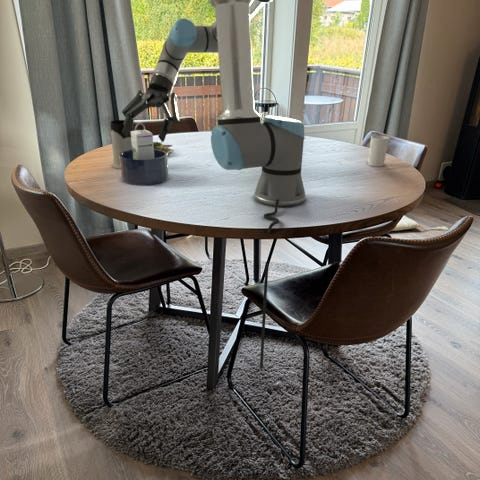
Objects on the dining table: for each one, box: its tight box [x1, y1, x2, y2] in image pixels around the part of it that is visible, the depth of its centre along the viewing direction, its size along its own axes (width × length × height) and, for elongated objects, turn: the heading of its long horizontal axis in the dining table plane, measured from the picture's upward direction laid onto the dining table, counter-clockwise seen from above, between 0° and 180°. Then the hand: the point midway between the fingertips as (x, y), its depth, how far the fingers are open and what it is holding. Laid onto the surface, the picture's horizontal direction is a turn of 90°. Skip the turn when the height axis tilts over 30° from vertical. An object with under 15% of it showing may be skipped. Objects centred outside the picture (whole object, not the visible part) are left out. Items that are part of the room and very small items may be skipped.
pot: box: [119, 149, 169, 186], centre depth 164 cm, size 15×15×8 cm
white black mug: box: [109, 119, 147, 170], centre depth 177 cm, size 9×14×15 cm, turn 135°
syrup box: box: [131, 129, 155, 159], centre depth 162 cm, size 6×6×14 cm
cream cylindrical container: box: [367, 134, 390, 167], centre depth 187 cm, size 7×7×10 cm
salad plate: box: [153, 141, 174, 156], centre depth 196 cm, size 19×18×5 cm
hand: (142, 137), depth 159 cm, fingers open, 13 cm apart
